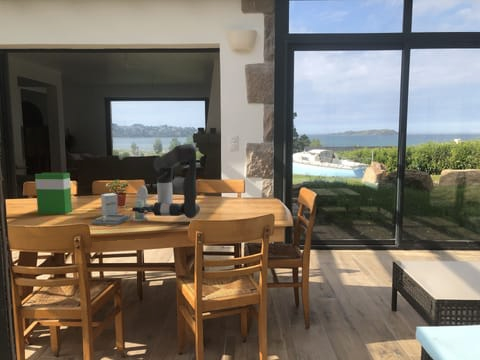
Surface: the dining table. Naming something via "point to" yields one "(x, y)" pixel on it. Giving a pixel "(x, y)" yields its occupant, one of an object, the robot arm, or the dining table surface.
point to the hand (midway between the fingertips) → (134, 208)
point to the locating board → (111, 219)
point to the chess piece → (142, 194)
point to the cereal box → (53, 193)
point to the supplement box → (109, 204)
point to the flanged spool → (137, 215)
